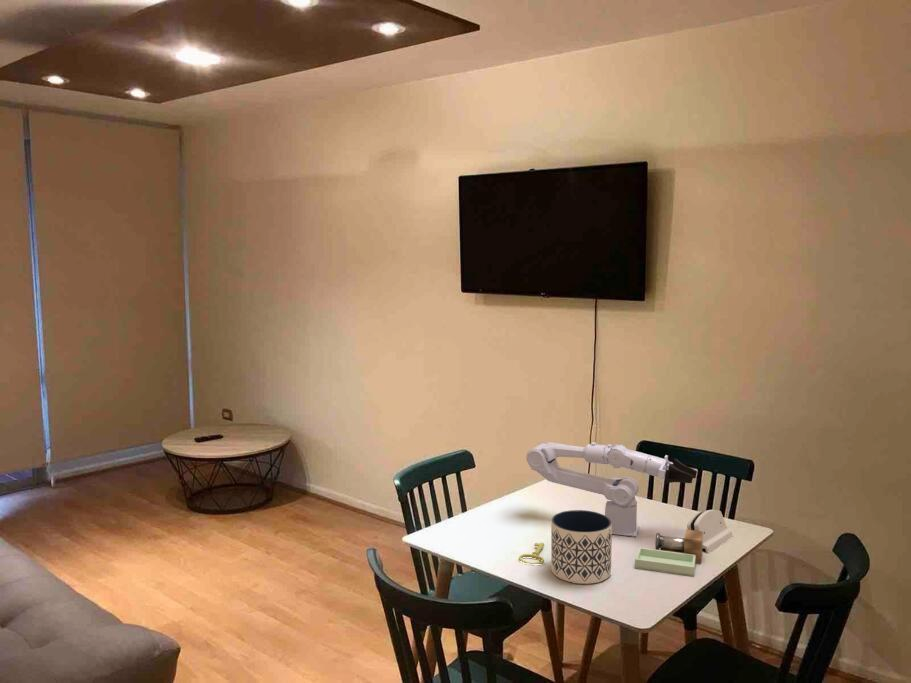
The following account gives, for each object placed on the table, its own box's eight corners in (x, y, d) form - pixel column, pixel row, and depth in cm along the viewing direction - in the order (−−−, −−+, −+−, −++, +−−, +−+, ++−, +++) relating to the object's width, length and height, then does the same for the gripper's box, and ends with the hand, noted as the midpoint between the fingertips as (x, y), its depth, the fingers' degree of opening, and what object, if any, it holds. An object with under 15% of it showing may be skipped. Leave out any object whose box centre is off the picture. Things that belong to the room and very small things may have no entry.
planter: (622, 580, 190) (623, 527, 188) (566, 589, 186) (566, 535, 184) (593, 555, 205) (594, 507, 203) (541, 563, 201) (542, 513, 199)
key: (544, 548, 212) (544, 541, 211) (544, 567, 199) (544, 560, 199) (519, 547, 212) (519, 541, 212) (518, 566, 200) (518, 559, 200)
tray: (635, 568, 197) (635, 559, 197) (638, 555, 205) (638, 547, 204) (693, 576, 192) (694, 567, 191) (695, 563, 199) (695, 554, 199)
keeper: (659, 558, 203) (660, 535, 202) (661, 548, 210) (662, 526, 209) (700, 563, 199) (701, 540, 198) (702, 553, 206) (702, 531, 205)
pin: (655, 552, 204) (655, 536, 204) (656, 545, 209) (657, 530, 208) (695, 557, 201) (695, 541, 200) (696, 550, 205) (696, 535, 204)
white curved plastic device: (707, 553, 205) (697, 518, 207) (692, 554, 209) (682, 520, 210) (733, 536, 217) (724, 503, 218) (719, 537, 220) (709, 505, 222)
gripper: (645, 455, 210) (693, 468, 204) (655, 447, 223) (700, 459, 217) (640, 478, 210) (688, 492, 205) (650, 469, 224) (695, 482, 218)
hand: (694, 477), depth 211 cm, fingers open, 7 cm apart
